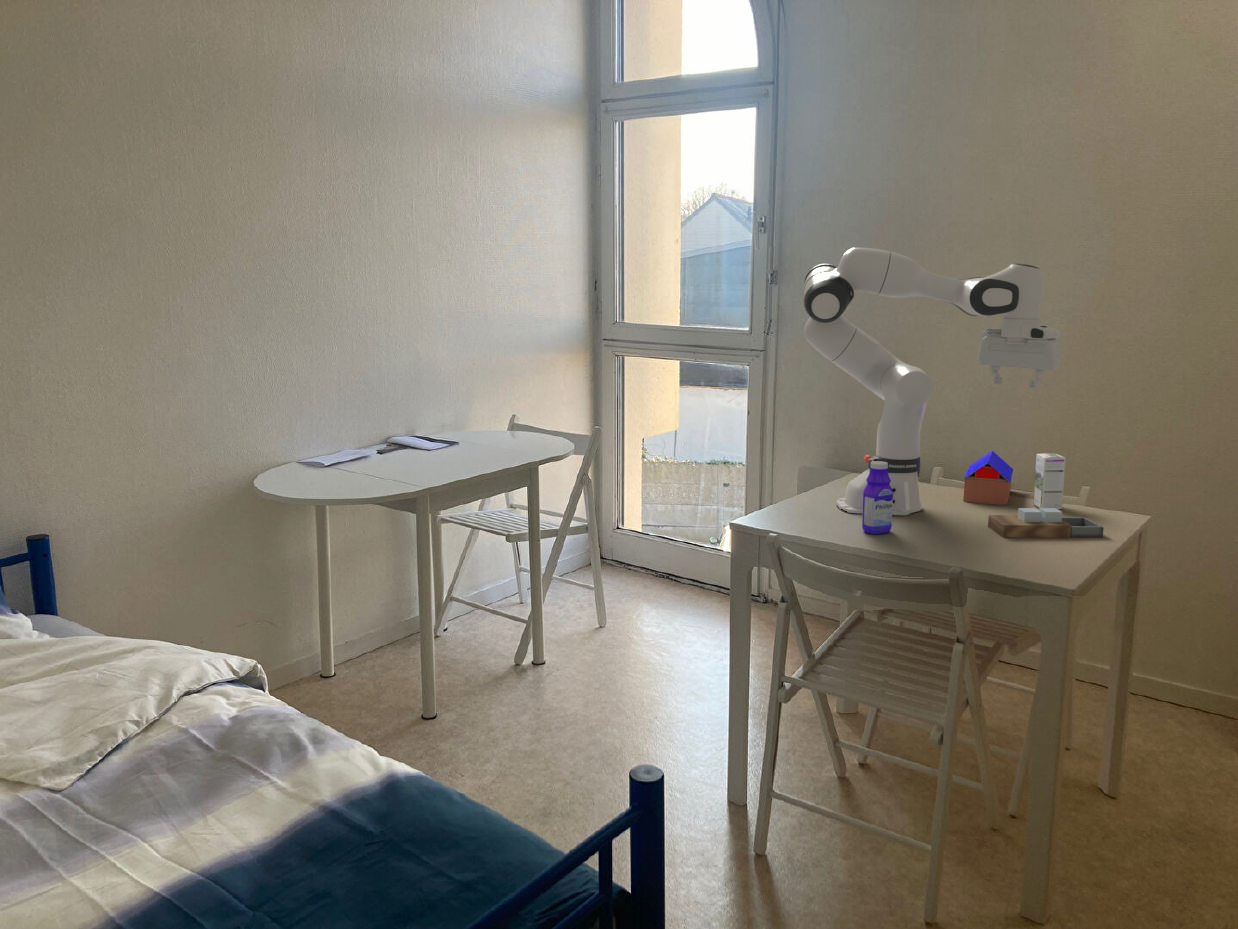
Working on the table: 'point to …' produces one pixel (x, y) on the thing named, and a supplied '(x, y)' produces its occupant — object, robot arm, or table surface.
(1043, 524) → the board
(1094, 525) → the tray
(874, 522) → the bottle
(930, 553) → the table surface
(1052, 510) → the tile
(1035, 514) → the tile
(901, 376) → the robot arm
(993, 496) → the house
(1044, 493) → the syrup box
